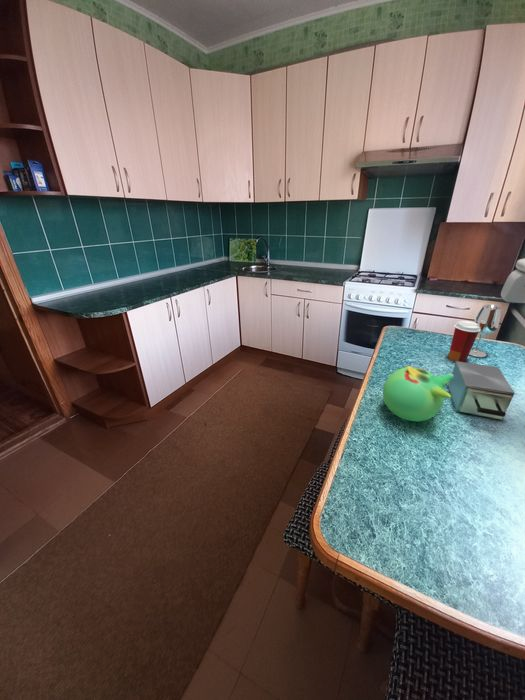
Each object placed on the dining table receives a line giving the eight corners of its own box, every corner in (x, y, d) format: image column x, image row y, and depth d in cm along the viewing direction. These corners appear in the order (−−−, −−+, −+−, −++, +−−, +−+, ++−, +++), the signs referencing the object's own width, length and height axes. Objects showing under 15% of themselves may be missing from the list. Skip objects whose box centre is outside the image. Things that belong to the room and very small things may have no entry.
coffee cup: (467, 356, 117) (479, 321, 110) (470, 365, 111) (483, 329, 104) (443, 352, 120) (454, 318, 113) (445, 361, 114) (456, 326, 107)
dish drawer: (508, 431, 78) (519, 409, 75) (463, 422, 82) (472, 400, 78) (488, 393, 94) (497, 372, 90) (451, 387, 97) (458, 367, 93)
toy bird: (386, 389, 98) (394, 351, 91) (443, 405, 90) (456, 364, 83) (373, 420, 85) (382, 378, 78) (439, 442, 77) (455, 397, 70)
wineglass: (459, 349, 122) (474, 304, 113) (475, 347, 123) (492, 302, 114) (474, 358, 115) (492, 311, 106) (491, 356, 117) (510, 309, 107)
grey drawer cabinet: (502, 419, 84) (514, 392, 79) (456, 411, 88) (465, 384, 83) (487, 391, 96) (498, 367, 91) (447, 385, 100) (455, 361, 95)
